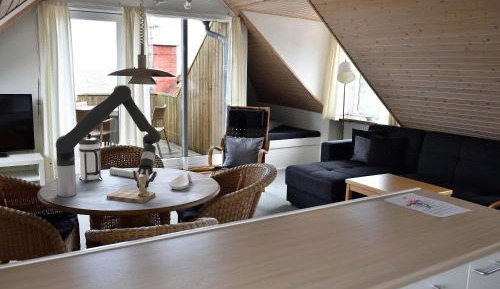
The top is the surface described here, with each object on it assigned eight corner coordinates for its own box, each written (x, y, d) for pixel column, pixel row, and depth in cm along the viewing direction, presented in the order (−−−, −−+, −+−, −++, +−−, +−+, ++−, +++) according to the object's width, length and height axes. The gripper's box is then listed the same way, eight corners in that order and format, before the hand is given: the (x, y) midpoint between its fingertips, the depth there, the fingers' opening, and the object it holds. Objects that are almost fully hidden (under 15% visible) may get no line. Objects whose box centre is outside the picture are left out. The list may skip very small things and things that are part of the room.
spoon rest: (184, 192, 244) (184, 180, 243) (165, 190, 246) (165, 179, 245) (196, 182, 267) (196, 171, 266) (179, 181, 269) (179, 170, 268)
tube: (145, 172, 273) (115, 167, 283) (140, 171, 269) (110, 166, 279) (143, 180, 273) (113, 175, 283) (138, 179, 268) (108, 174, 278)
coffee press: (72, 182, 258) (70, 134, 253) (86, 176, 273) (85, 131, 268) (98, 184, 255) (96, 136, 250) (111, 178, 270) (109, 132, 265)
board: (106, 199, 227) (106, 195, 226) (120, 192, 240) (120, 188, 240) (142, 203, 221) (142, 199, 221) (155, 196, 235) (155, 192, 234)
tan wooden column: (137, 195, 227) (137, 176, 225) (140, 192, 232) (139, 174, 230) (146, 196, 227) (146, 176, 225) (148, 193, 232) (148, 174, 230)
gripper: (133, 157, 234) (127, 183, 224) (158, 158, 234) (153, 184, 224) (136, 164, 240) (130, 190, 230) (160, 165, 240) (156, 191, 230)
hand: (142, 187), depth 227 cm, fingers closed on tan wooden column, 3 cm apart
